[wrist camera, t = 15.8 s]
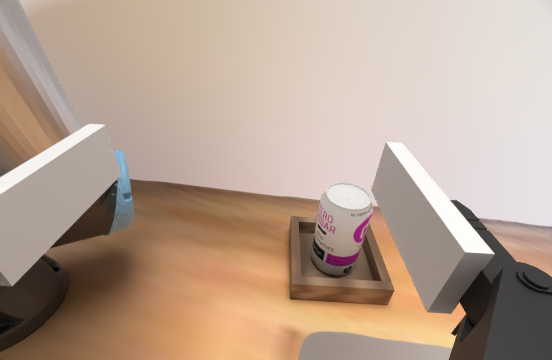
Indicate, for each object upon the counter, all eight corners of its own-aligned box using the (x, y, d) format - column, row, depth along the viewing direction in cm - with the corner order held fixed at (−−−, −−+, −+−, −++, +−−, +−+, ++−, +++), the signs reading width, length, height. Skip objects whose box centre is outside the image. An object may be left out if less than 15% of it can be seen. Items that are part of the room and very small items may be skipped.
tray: (290, 298, 44) (292, 283, 42) (289, 230, 57) (291, 216, 55) (387, 304, 44) (394, 290, 42) (363, 234, 57) (368, 220, 55)
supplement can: (361, 257, 51) (383, 193, 43) (342, 286, 45) (362, 220, 37) (324, 236, 55) (337, 175, 47) (302, 261, 49) (312, 196, 41)
